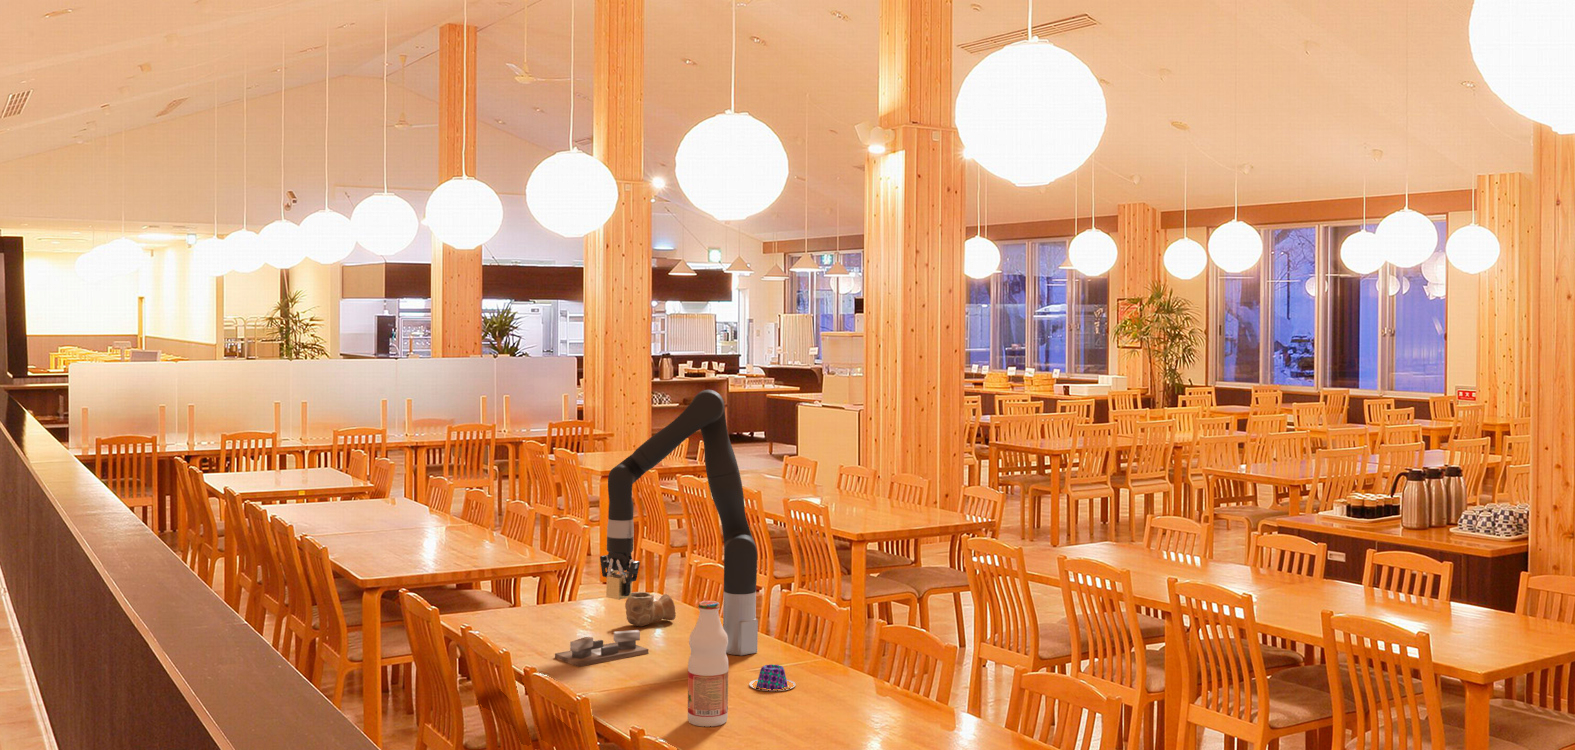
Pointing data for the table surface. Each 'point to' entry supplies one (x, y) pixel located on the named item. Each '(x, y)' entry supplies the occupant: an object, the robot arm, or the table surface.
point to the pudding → (772, 678)
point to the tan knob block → (616, 587)
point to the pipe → (648, 608)
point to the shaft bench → (602, 649)
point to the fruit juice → (708, 669)
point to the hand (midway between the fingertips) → (618, 594)
